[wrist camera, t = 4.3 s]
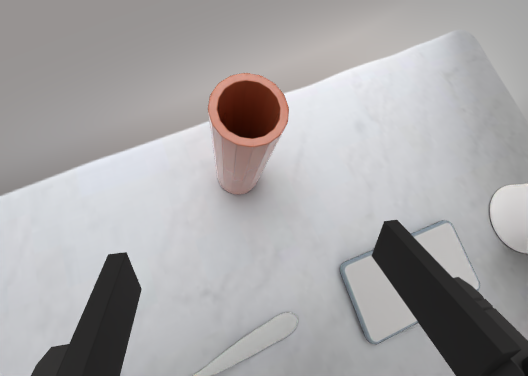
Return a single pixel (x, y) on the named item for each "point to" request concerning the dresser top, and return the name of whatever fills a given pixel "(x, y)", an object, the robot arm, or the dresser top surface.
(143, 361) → the dresser top surface
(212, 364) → the spoon
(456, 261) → the smartphone
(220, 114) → the orange hollow tube
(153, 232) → the dresser top surface
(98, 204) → the dresser top surface
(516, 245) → the mug
